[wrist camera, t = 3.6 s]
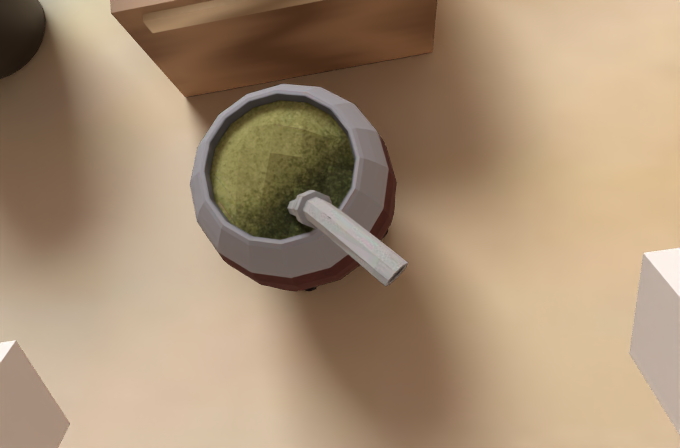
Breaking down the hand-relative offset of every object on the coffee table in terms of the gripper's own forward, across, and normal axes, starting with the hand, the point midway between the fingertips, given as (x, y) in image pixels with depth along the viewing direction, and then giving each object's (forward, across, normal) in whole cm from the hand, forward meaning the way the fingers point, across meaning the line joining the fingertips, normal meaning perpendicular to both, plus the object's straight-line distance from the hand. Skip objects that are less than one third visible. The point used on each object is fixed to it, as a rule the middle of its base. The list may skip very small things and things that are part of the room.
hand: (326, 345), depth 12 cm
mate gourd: (+12, -1, -5) cm, 13 cm away
